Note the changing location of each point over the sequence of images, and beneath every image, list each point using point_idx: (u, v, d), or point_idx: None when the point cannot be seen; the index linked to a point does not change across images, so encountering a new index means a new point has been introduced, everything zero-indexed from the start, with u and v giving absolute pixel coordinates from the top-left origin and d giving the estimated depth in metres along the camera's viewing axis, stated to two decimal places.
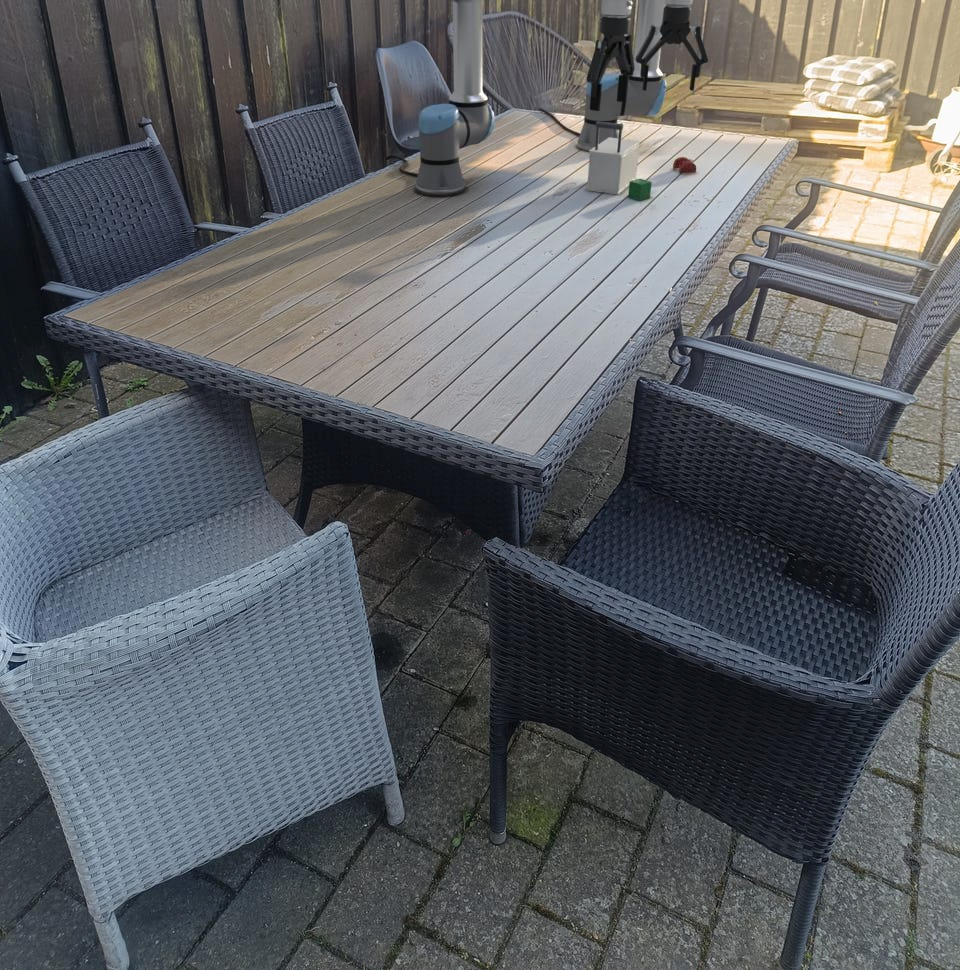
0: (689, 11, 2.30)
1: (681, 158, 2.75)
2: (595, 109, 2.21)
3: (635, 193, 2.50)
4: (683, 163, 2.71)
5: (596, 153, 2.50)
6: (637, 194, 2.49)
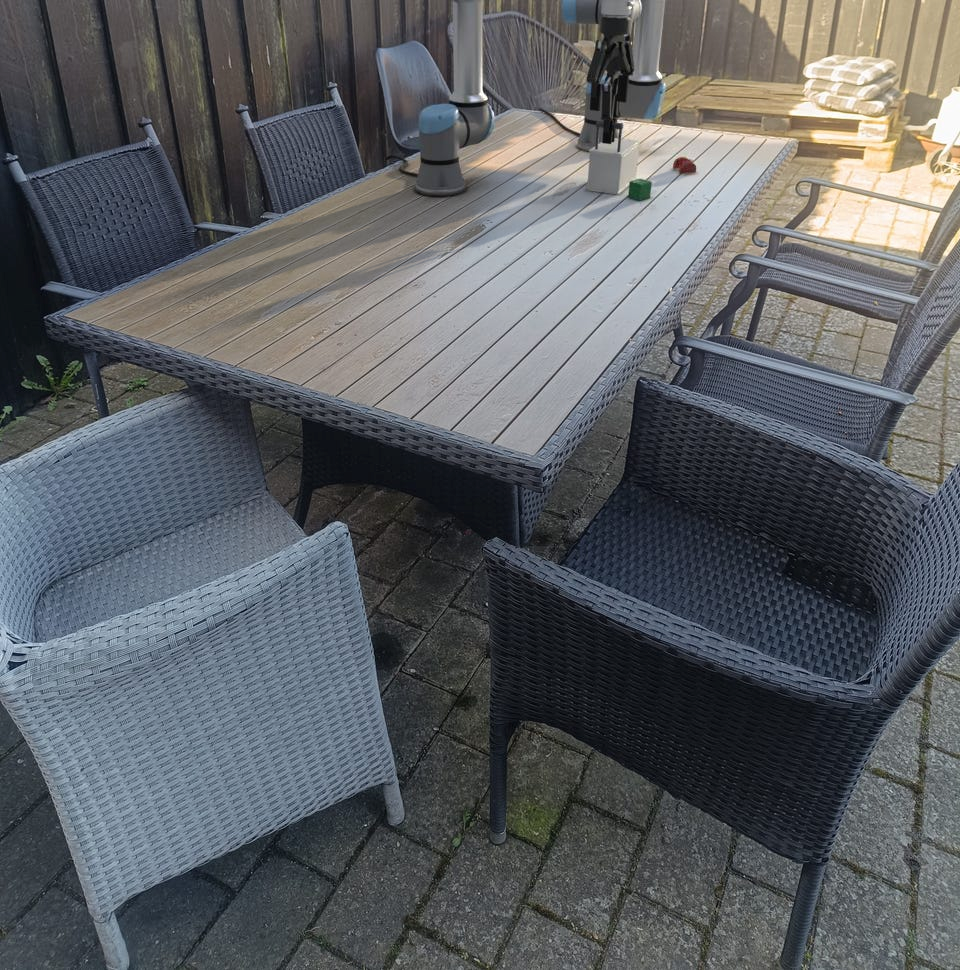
0: None
1: (681, 158, 2.75)
2: (595, 109, 2.21)
3: (635, 193, 2.50)
4: (683, 163, 2.71)
5: (596, 152, 2.50)
6: (637, 194, 2.49)
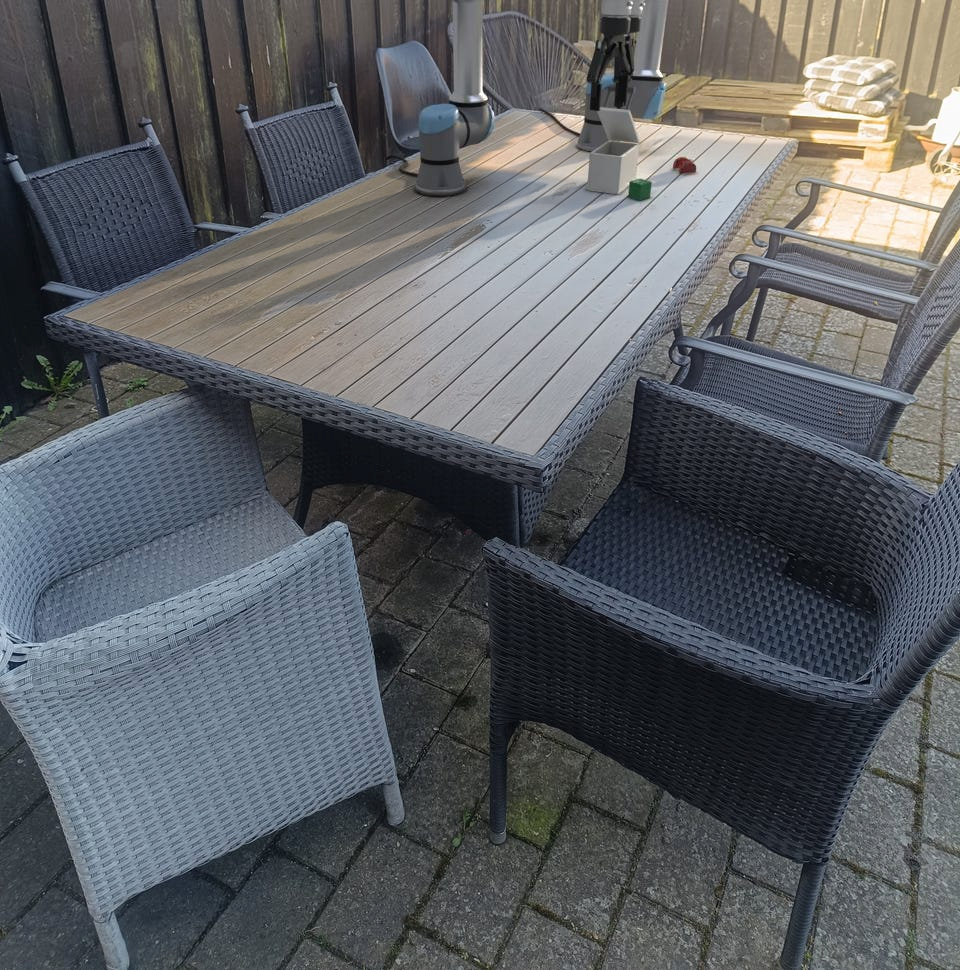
0: None
1: (681, 158, 2.75)
2: (595, 109, 2.21)
3: (635, 193, 2.50)
4: (683, 163, 2.71)
5: (604, 109, 2.46)
6: (637, 194, 2.49)
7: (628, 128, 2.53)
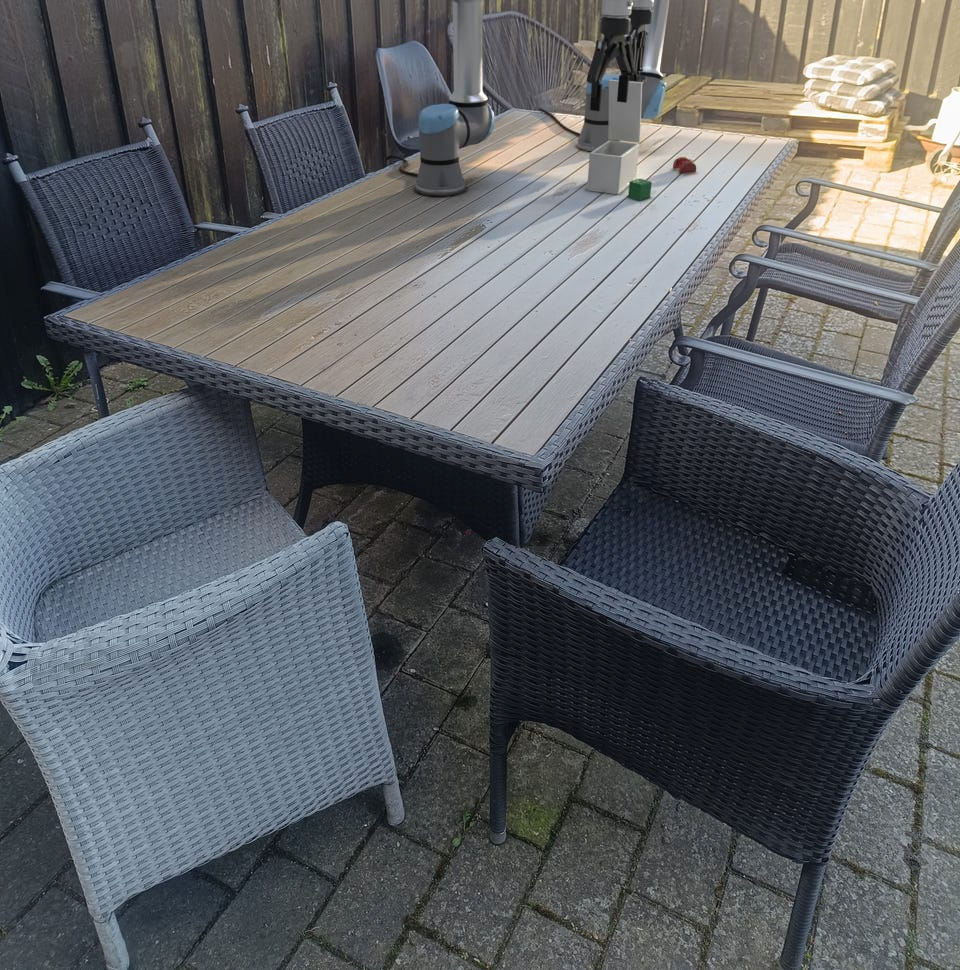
0: None
1: (681, 158, 2.75)
2: (595, 109, 2.21)
3: (635, 193, 2.50)
4: (683, 163, 2.71)
5: (616, 80, 2.50)
6: (637, 194, 2.49)
7: (634, 114, 2.54)
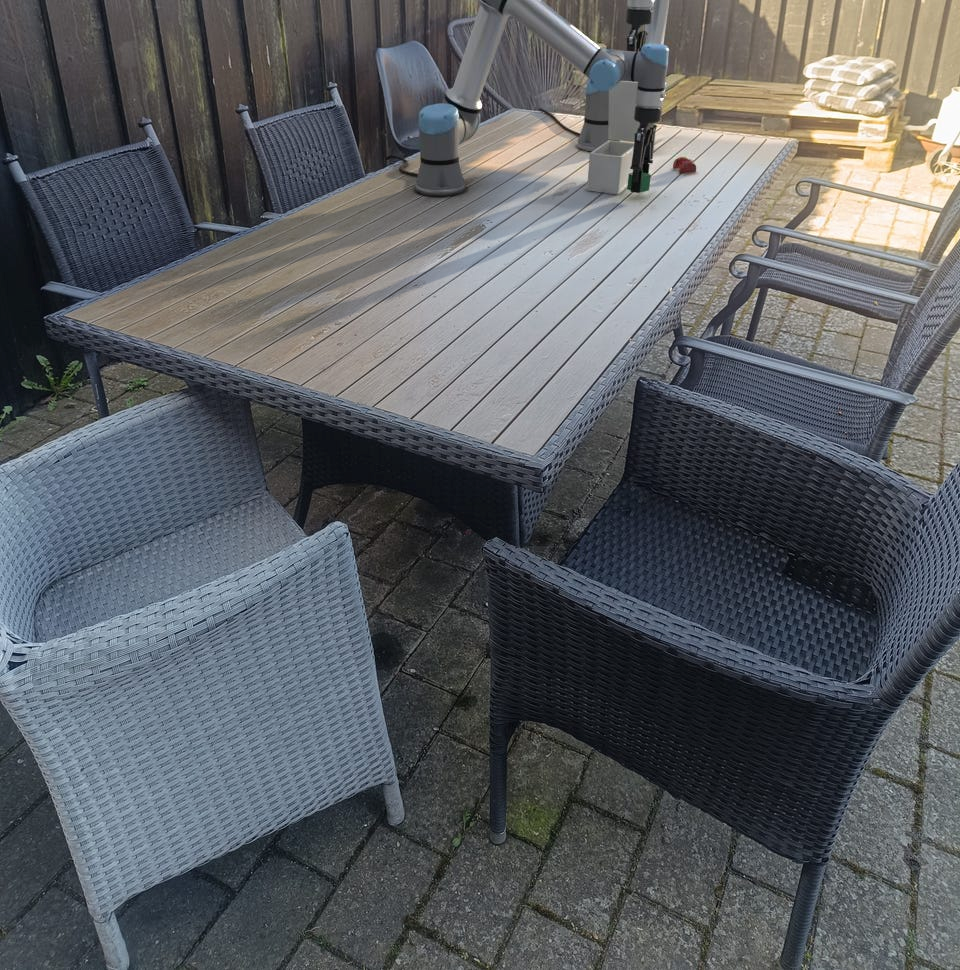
0: None
1: (681, 158, 2.75)
2: (636, 191, 2.48)
3: None
4: (683, 163, 2.71)
5: None
6: None
7: None
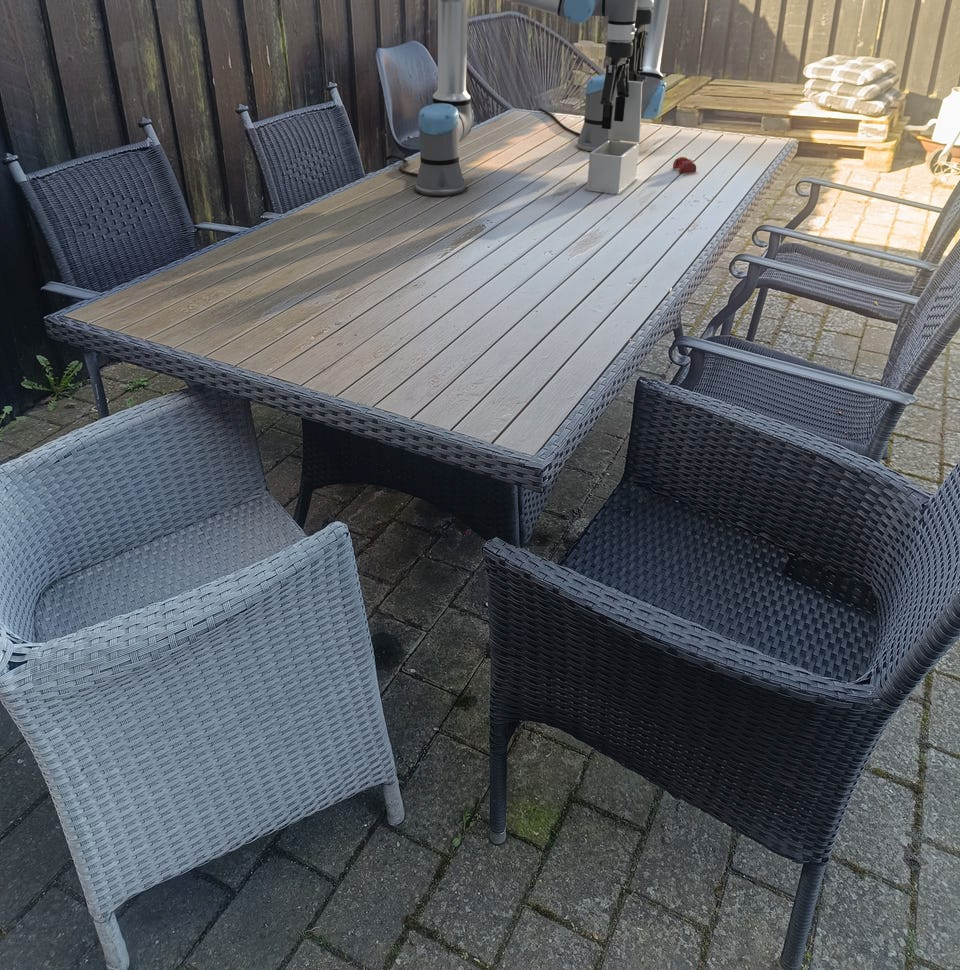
0: None
1: (681, 158, 2.75)
2: (607, 127, 2.44)
3: None
4: (683, 163, 2.71)
5: None
6: None
7: (634, 114, 2.54)
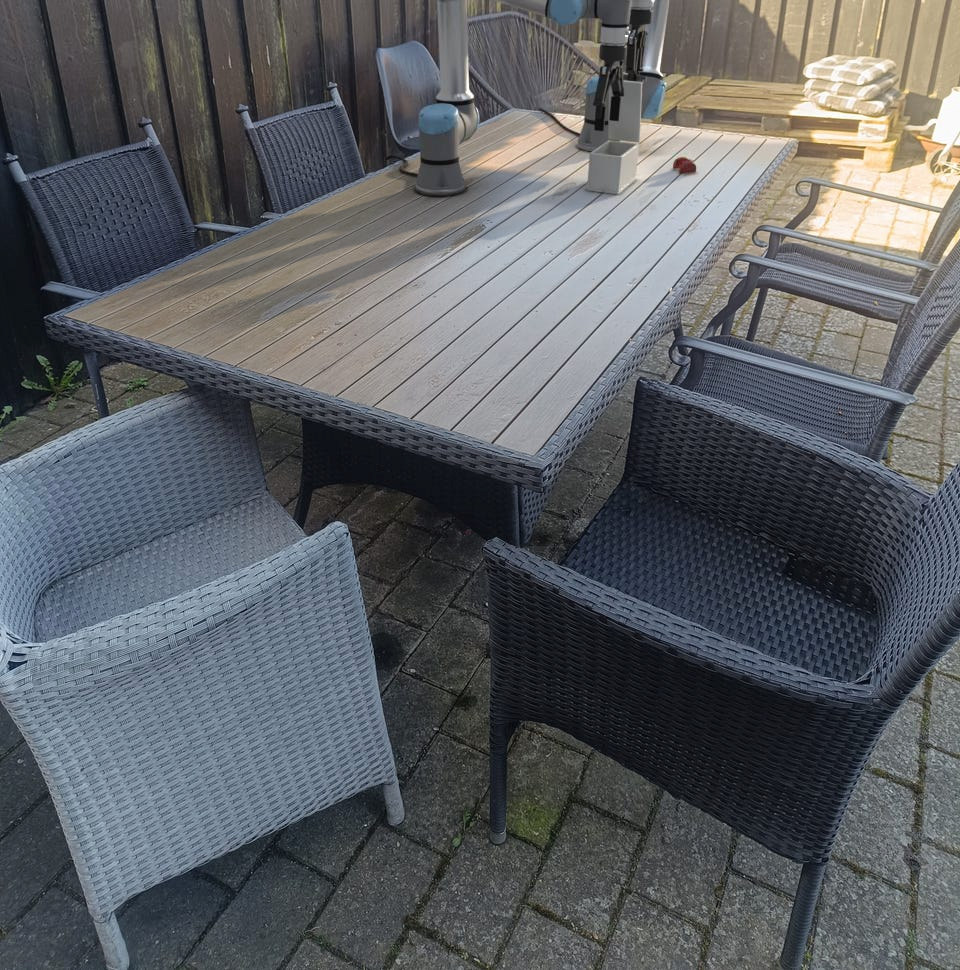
0: None
1: (681, 158, 2.75)
2: (600, 129, 2.39)
3: None
4: (683, 163, 2.71)
5: None
6: None
7: (634, 114, 2.54)
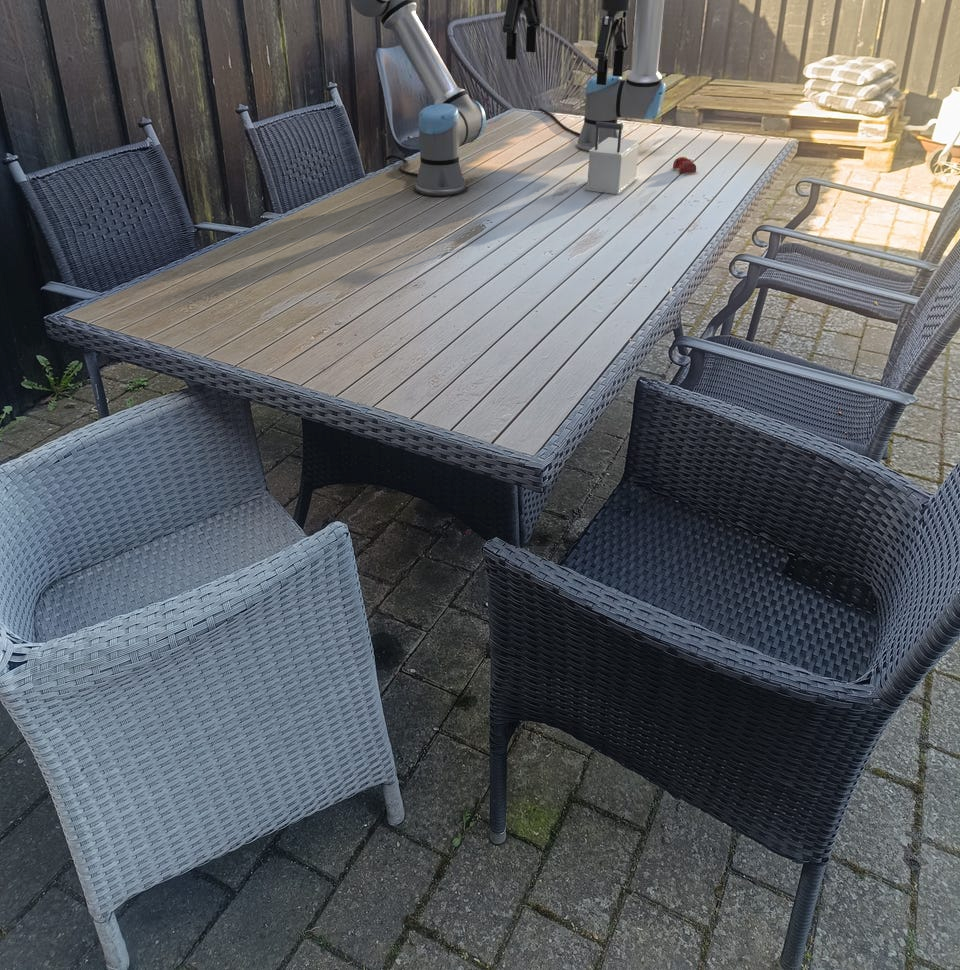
0: None
1: (681, 158, 2.75)
2: (512, 58, 2.33)
3: None
4: (683, 163, 2.71)
5: (596, 153, 2.50)
6: None
7: None
